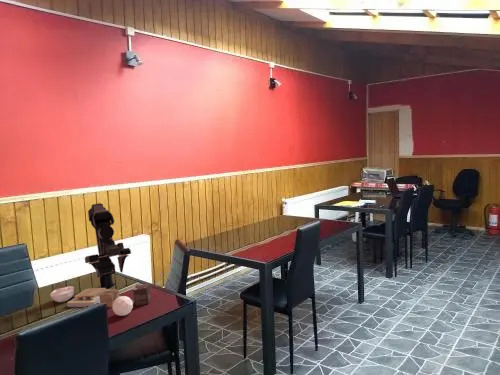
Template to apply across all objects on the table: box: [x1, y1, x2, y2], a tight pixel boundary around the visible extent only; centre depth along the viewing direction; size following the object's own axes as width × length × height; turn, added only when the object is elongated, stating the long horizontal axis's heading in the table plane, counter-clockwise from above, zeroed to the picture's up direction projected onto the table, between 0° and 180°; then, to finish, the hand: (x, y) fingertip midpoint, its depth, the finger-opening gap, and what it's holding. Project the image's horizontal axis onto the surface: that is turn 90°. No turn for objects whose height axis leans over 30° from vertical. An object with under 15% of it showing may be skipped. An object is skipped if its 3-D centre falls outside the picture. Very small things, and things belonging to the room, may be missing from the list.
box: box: [132, 283, 152, 306], centre depth 182 cm, size 6×6×7 cm
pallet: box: [73, 287, 107, 300], centre depth 193 cm, size 10×10×2 cm
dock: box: [66, 288, 112, 308], centre depth 193 cm, size 16×14×2 cm
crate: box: [99, 288, 120, 308], centre depth 183 cm, size 6×6×6 cm
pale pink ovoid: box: [112, 295, 135, 317], centre depth 172 cm, size 8×8×12 cm
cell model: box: [49, 285, 75, 303], centre depth 196 cm, size 10×12×7 cm
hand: (111, 274), depth 180 cm, fingers open, 9 cm apart
